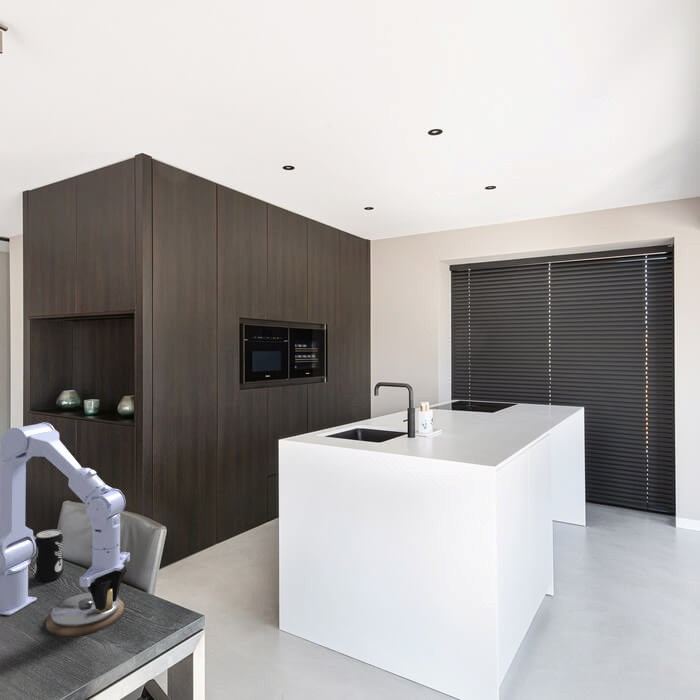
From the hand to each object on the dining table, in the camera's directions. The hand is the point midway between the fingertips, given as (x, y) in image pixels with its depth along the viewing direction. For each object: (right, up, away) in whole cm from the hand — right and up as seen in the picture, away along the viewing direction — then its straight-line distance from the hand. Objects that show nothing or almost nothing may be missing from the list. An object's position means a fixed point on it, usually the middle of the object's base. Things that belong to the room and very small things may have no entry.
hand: (105, 604), depth 119 cm
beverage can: (-25, -3, +21) cm, 33 cm away
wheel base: (-5, -3, +1) cm, 6 cm away
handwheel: (-5, -2, +1) cm, 6 cm away
